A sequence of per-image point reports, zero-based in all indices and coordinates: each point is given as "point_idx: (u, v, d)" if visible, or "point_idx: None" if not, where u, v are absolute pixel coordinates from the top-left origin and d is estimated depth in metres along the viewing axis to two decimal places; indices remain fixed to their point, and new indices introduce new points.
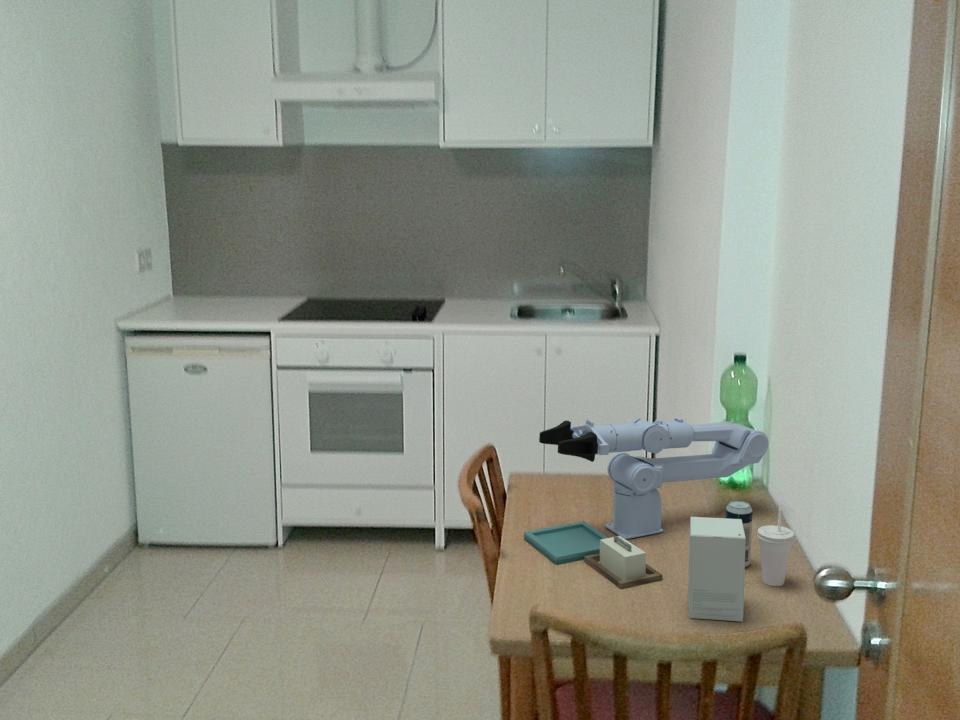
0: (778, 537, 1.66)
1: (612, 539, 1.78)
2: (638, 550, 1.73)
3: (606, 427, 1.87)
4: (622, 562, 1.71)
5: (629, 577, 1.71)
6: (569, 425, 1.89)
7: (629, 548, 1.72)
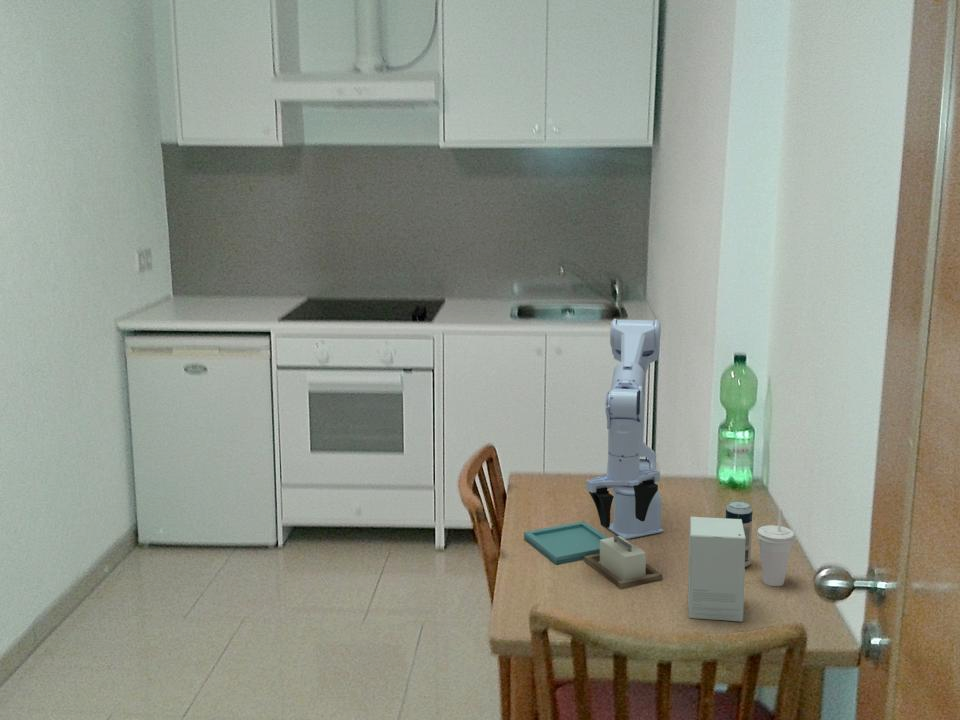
0: (778, 537, 1.66)
1: (612, 539, 1.78)
2: (638, 550, 1.73)
3: (636, 463, 1.70)
4: (622, 562, 1.71)
5: (629, 577, 1.71)
6: None
7: (629, 548, 1.72)
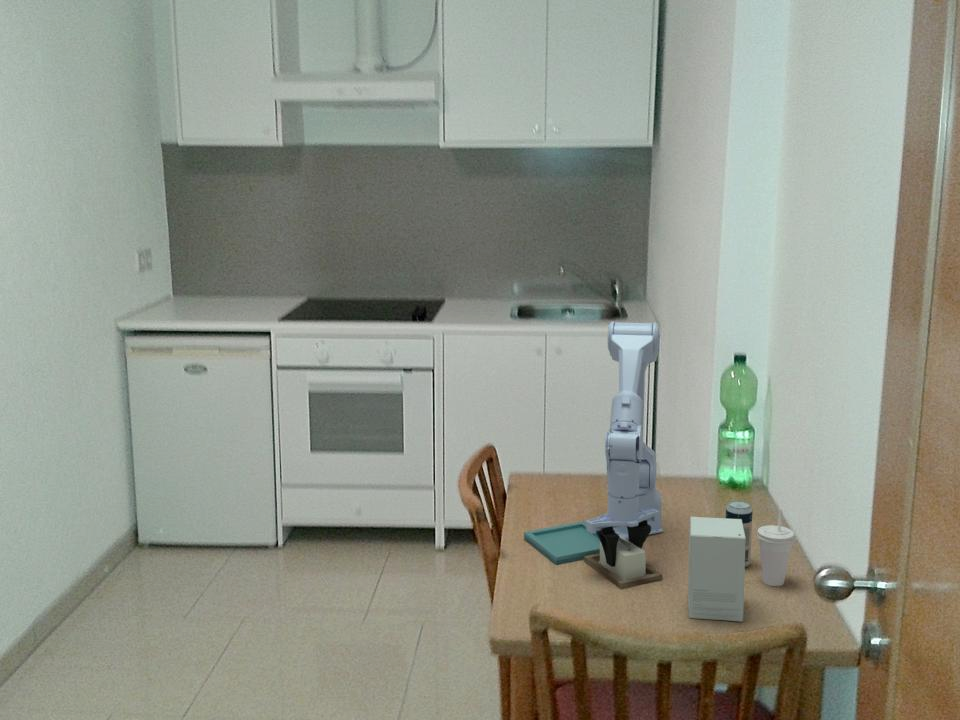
0: (778, 537, 1.66)
1: None
2: (638, 549, 1.73)
3: (635, 504, 1.71)
4: (622, 561, 1.71)
5: (629, 576, 1.71)
6: None
7: (629, 547, 1.72)
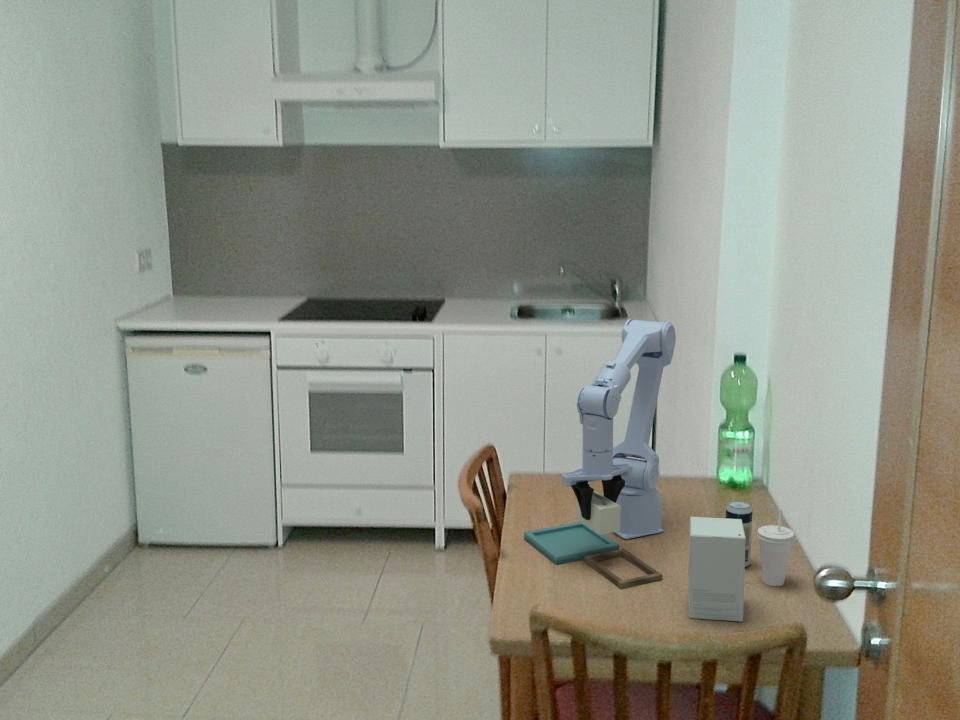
0: (778, 537, 1.66)
1: None
2: (613, 503, 1.77)
3: (609, 458, 1.76)
4: (597, 515, 1.75)
5: (604, 529, 1.76)
6: None
7: (604, 501, 1.77)
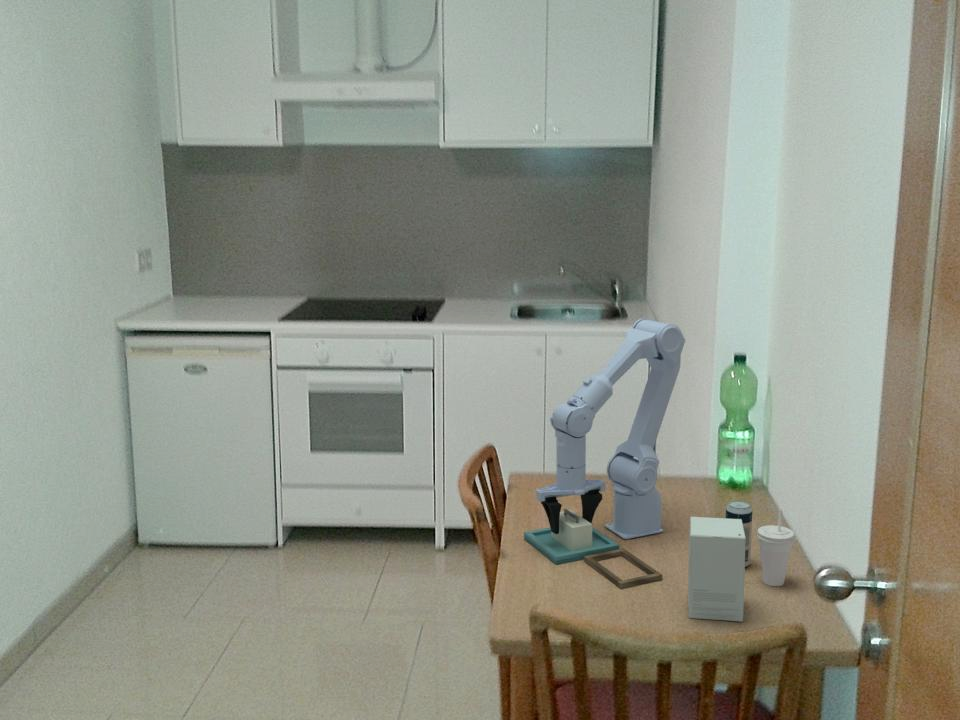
0: (778, 537, 1.66)
1: (562, 512, 1.90)
2: (585, 522, 1.84)
3: (582, 474, 1.83)
4: (570, 533, 1.83)
5: (576, 547, 1.83)
6: None
7: (577, 520, 1.84)
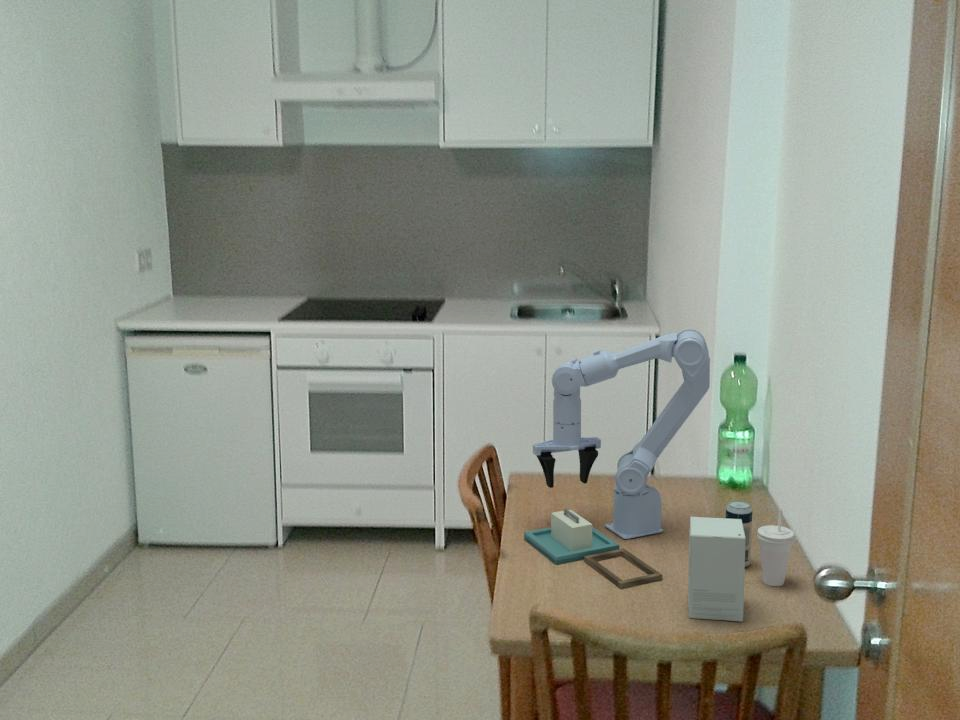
0: (778, 537, 1.66)
1: (562, 512, 1.90)
2: (585, 522, 1.84)
3: (576, 430, 1.91)
4: (570, 533, 1.83)
5: (576, 547, 1.83)
6: None
7: (577, 520, 1.84)
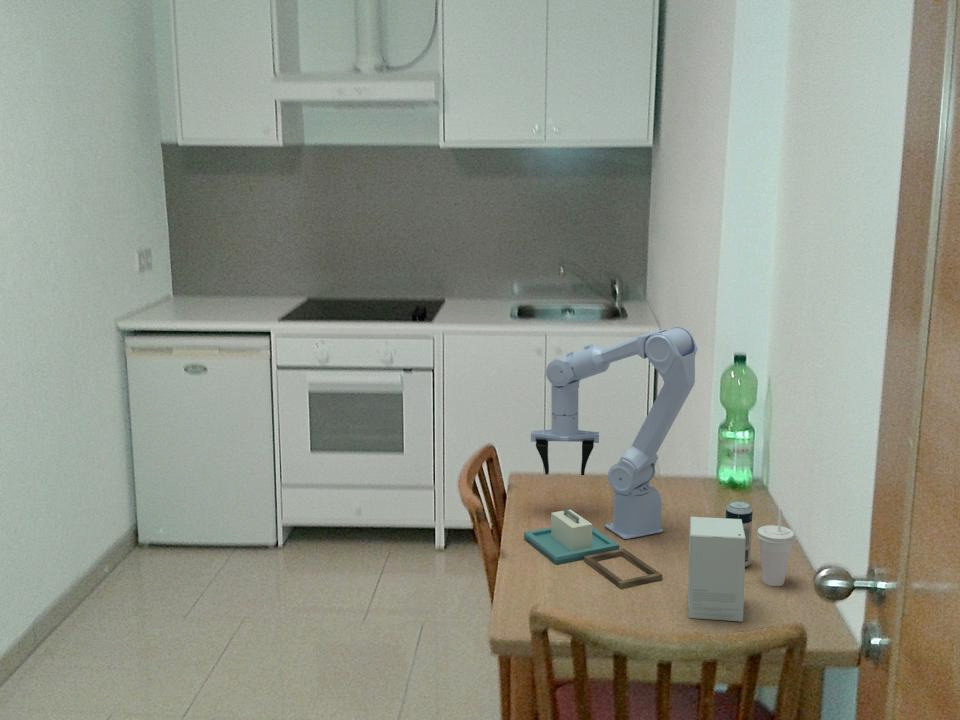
0: (778, 537, 1.66)
1: (562, 512, 1.90)
2: (585, 522, 1.84)
3: (569, 422, 1.97)
4: (570, 533, 1.83)
5: (576, 547, 1.83)
6: (547, 447, 2.00)
7: (577, 520, 1.84)
